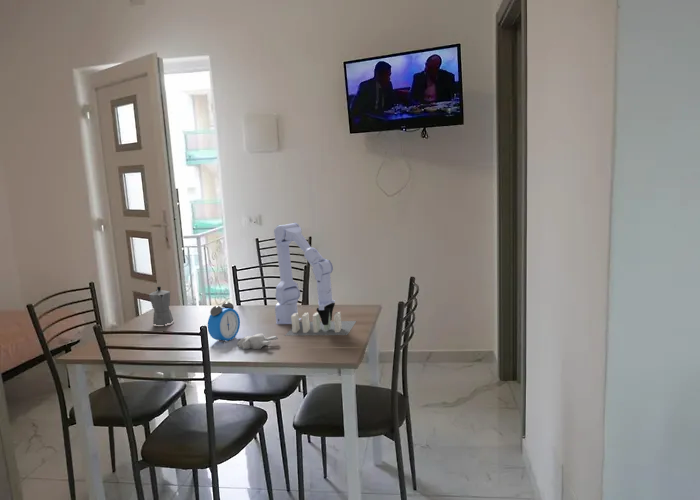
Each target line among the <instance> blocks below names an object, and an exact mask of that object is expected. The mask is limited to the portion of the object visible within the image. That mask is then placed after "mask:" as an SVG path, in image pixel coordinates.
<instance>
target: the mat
mask: <svg viewBox="0 0 700 500" xmlns="http://www.w3.org/2000/svg"><path fill="white" fill-rule="evenodd" d="M356 322H357V320H341V326H342V329H341V330H340V332H335V323H334V320H331V327H330V328H329V329H328V330H324V325H323V324H322V321H321V320H320V328H321V329H320V330H319V331H318V332H314V330H313V321H310V330H309V331H308V332H307V333H303V326H302V321H299V325H300V329H299V330H298V331H297V332H296V333H293V331H292V328H291V329H290V330H288V331H287V333H286V334H284V336H285V337H286V336H348V334H349V333H350V332H351V331H352V329H353V327H354V326H355V324H356Z"/></svg>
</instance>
